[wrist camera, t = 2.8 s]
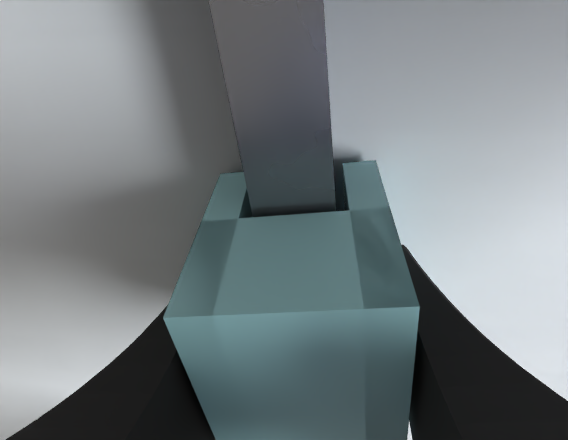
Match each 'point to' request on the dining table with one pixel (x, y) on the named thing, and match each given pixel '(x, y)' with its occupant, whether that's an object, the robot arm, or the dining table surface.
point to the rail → (279, 101)
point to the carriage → (299, 317)
